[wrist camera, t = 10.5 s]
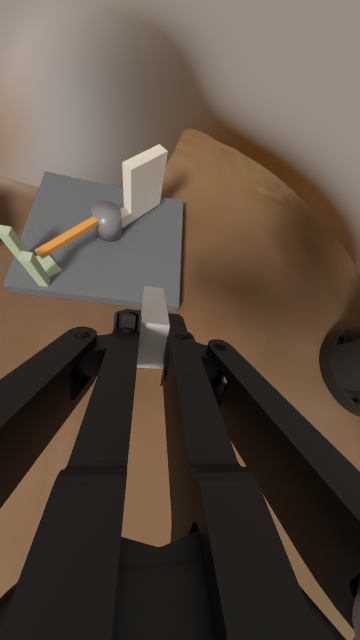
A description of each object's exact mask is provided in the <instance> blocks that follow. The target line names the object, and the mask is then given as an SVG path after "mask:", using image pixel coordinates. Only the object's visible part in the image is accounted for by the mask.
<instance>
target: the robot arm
mask: <svg viewBox="0 0 360 640" xmlns="http://www.w3.org/2000/svg"><path fill="white" fill-rule="evenodd" d="M163 363H164V368H163V374H162V379H161V385H160V386H162V385H163V392H164V407H165V423H166V438H167V453H168V469H169V484H170V500H171V515H172V530H171V543H169V544H167V545H165V546H162V547H155V546H151V545H148V544H144V543H141V542H137V541H134V540H130V539H127V538H123V537H121V532H122V521H123V511H124V500H125V489H126V479H127V463H128V453H129V442H130V432H131V421H132V411H133V401H134V390H135V380H136V369H137V367H142V368H156V369H162V367H163ZM320 367H321V372H322V376H323V379H324V381H325V383H326V385H327V387H328V389H329V391H330V392H331V394H332V395H333V397H334V398H335V399H336V400H337V402H338V403H339V404H340V405H342V406H343V407H344V408H345V409H346V410H348V411H349V412H351V413H353V414H355V415H357V416H359V417H360V328H348V329H344V330H341V331H338V332H335V333H333V334H331V335H330V336H328V337H327V339H326V340H325V341H324V343H323V345H322V348H321V352H320ZM96 376H98V377H97V380H96V382H95V379H96ZM224 377H225V378H226V380H227V384H226V383H225V382H224V381H223V380H224ZM94 382H95V385H94V388H93V391H92V394H91V397H90V400H89V403H88V406H87V409H86V412H85V415H84V418H83V421H82V424H81V427H80V430H79V433H78V436H77V438H76V441H75V444H74V447H73V450H72V453H71V456H70V459H69V462H68V464H67V466H66V468H65V469H63V470H61V471H60V473H59V474H58V476H57V478H56V480H55V483H54V485H53V488H52V490H51V493H50V496H49V498H48V501H47V504H46V507H45V509H44V512H43V515H42V518H41V520H40V523H39V526H38V528H37V531H36V534H35V537H34V539H33V542H32V545H31V548H30V550H29V553H28V556H27V558H26V561H25V564H24V567H23V569H22V572H21V575H20V578H19V580H18V582H17V583H16V584H15V585H14V586H13V587H11V588H10V589H9V590H8V591H7V592H6V593H5V594H4V595H3V596H2V597H1V598H0V640H346V639H345V638H344V637H343V636H342V634H341V633H340V632H339V631H338V630H337V629H336V627H335V626H334V625H333V624H332V623H331V622H330V621H329V619H328V618H327V617H326V616H325V615H324V614H323V612H322V611H321V610H320V609H319V608H318V607H317V605H316V604H315V603H314V602H313V601H312V600H311V599H310V597H309V596H308V595H307V594H306V593H305V592H304V590H303V589H302V588H301V587H300V586H299V584H298V581H297V579H296V576H295V574H294V571H293V569H292V566H291V564H290V561H289V559H288V556H287V554H286V551H285V549H284V546H283V544H282V541H281V539H280V536H279V534H278V531H277V529H276V526H275V524H274V521H273V519H272V516H271V514H270V511H269V509H268V506H267V504H266V501H265V499H264V496H265V498H266V500H267V501H268V503H269V505H270V506H271V508H272V510H273V511H274V513H275V515H276V516H277V518H278V520H279V521H280V523H281V525H282V526H283V528H284V530H285V531H286V533H287V535H288V536H289V538H290V540H291V541H292V543H293V545H294V546H295V548H296V550H297V551H298V553H299V555H300V556H301V558H302V559H303V561H304V562H305V564H306V566H307V567H308V569H309V570H310V572H311V573H312V575H313V576H314V578H315V580H316V581H317V583H318V584H319V585H320V587H321V588H322V589H323V591H324V592H325V594H326V595H327V596H328V598H329V599H330V600H331V602H332V603H333V605H334V606H335V607H336V609H337V610H338V611H339V612H340V614H341V615H342V616H343V617H344V618H345V620H346V621H347V622H348V623H349V625H350V626H351V627H352V628H353V629H354V632H355V635H356V636H355V637H354V638H353V640H360V472H359V471H358V470H357V469H356V468H355V467H354V466H353V465H352V464H351V463H350V462H349V461H348V460H347V459H346V458H345V457H344V456H343V455H342V454H341V453H340V452H339V451H338V450H337V449H336V448H335V447H334V446H333V445H332V444H331V443H330V442H329V441H328V440H327V439H326V438H325V437H324V436H323V435H322V434H321V433H320V432H319V431H318V430H317V429H316V428H315V427H314V426H313V425H312V424H311V423H310V422H309V421H308V420H307V419H305V418H304V417H303V416H302V415H301V414H300V413H299V412H298V411H297V410H296V409H295V408H294V407H293V406H292V405H291V404H290V403H289V402H288V401H287V400H286V399H285V398H284V397H283V396H282V395H281V394H280V393H279V392H278V391H277V390H276V389H275V388H274V387H273V386H272V385H271V384H270V383H269V382H268V381H267V380H266V379H265V378H264V377H263V376H262V375H261V374H260V373H259V372H258V371H257V370H256V369H255V368H254V367H253V366H252V365H251V364H250V363H249V362H248V361H247V360H245V359H244V358H243V357H242V356H241V355H240V354H239V353H238V352H237V351H236V350H235V349H234V348H233V347H232V346H231V345H230V344H229V343H227V342H225V341H223V340H219V339H218V340H216V339H214V340H210V341H209V342H208V346H207V345H203V344H200V343H197V342H195V339H194V337H193V335H192V334H191V333H189V332H187V329H186V326H185V322H184V319H183V318H182V317H181V316H180V315H179V314H170V313H168V312H167V306H166V300H165V294H164V288H157V287H150V286H144V292H143V301H142V310H141V311H140V310H132V309H125V310H123V311H118V312H116V313H115V315H114V329H113V332H112V333H111V334H107V335H99V336H97V332H96V331H95V330H94V329H92V328H89V327H77V328H72V329H70V330H68V331H67V332H66V333H64V334H63V335H61V336H60V337H59V338H57V339H56V340H54V341H53V342H52V343H50V344H49V345H48V346H46V347H45V348H43V349H42V350H41V351H39V352H38V353H37V354H35V355H34V356H32V357H31V358H30V359H28V360H27V361H25V362H24V363H23V364H21V365H20V366H19V367H17V368H16V369H14V370H13V371H12V372H10V373H9V374H8V375H6V376H5V377H3V378H2V379H1V380H0V508H1V507H2V506H3V504H4V503H5V502H6V500H7V499H8V498H9V496H10V495H11V493H12V492H13V491H14V489H15V488H16V487H17V485H18V484H19V483H20V481H21V480H22V479H23V477H24V476H25V475H26V473H27V472H28V471H29V469H30V468H31V467H32V465H33V464H34V462H35V461H36V460H37V458H38V457H39V456H40V454H41V453H42V452H43V450H44V449H45V448H46V446H47V445H48V444H49V442H50V441H51V440H52V438H53V437H54V436H55V434H56V433H57V431H58V430H59V429H60V427H61V426H62V425H63V423H64V422H65V421H66V419H67V418H68V417H69V415H70V414H71V413H72V411H73V410H74V409H75V407H76V406H77V405H78V403H79V402H80V400H81V399H82V398H83V396H84V395H85V394H86V392H87V391H88V390H89V388H90V387H91V386H92V384H93V383H94ZM230 440H231V441H230ZM231 442H232V443H233V445H234V447H235V448H236V450H237V452H238V453H239V455H240V456H241V458H242V460H243V461H244V463H245V465H246V466H247V467H242V466H241V465H240V464H239V463H238V461H237V458H236V455H235V452H234V450H233V447H232V444H231ZM262 493H263V494H262ZM263 495H264V496H263Z"/></svg>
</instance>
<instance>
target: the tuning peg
mask: <svg viewBox="0 0 360 640" xmlns="http://www.w3.org/2000/svg"><path fill="white" fill-rule="evenodd" d="M167 152H168V151H167V150H166V149H165V148H163V147H162V146H161V145H160V144H159V145H157V146H155V147H153V148H151V149H149V150H147V151H145V152H142V153H140V154H138V155H136V156H134V157H132V158H130V159H128V160H126V161H124V162H122V163H123V164H122V165H123V195H124V207H123V208H121V209H120V208H119V206H118V205H116V204H115V203H113V202H111V201H99V202H97V203H95V204H94V205H93V207H92V215H93V216H92V217H91V218H89V219H87V220H85V221H84V222H82V223H80V224H79V225H77V226H75V227H73V228H72V229H70V230H68V231H66V232H65V233H63V234H61V235H60V236H58V237H56V238H54V239H53V240H51V241H49V242H47V243H46V244H44V245H42V246H41V247H39V248H37V249H35V252H36V253H37V254H38V255H39V256H40V257H41V258H42V259H43V258H45V257H47V256H48V255H50V254H52V253H53V252H55V251H57V250H58V249H60V248H62V247H63V246H65V245H67V244H68V243H70V242H71V241H73V240H75V239H76V238H78V237H80V236H81V235H83V234H85V233H86V232H88V231H90V230H91V229H93V228H95V230H96V234H97V236H98V237H99V238H100V239H102V240H104V241H108V242H112V241H116V240H118V239H119V238H120V237H121V235H122V228H123V227H125V226H127V225H128V224H130V223H131V222H133V221H134V220H136V219H137V218H139V217H140V216H142V215H143V214H145V213H147V212H148V211H150V210H151V209H153V208H154V207H156V206H157V205H159V204H160V198H161V192H162V185H163V178H164V172H165V165H166V158H167Z"/></svg>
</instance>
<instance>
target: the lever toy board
mask: <svg viewBox="0 0 360 640" xmlns="http://www.w3.org/2000/svg"><path fill="white" fill-rule="evenodd" d="M99 201H111V202H113V203H115V204H116V205H118V206H119V208H120V209H121V208H123V207H124V195H123V188H120V187H115V186H110V185H106V184H101V183H97V182H92V181H87V180H83V179H78V178H73V177H69V176H64V175H59V174H55V173H50V172H45V173H44V176H43V179H42V181H41V184H40V187H39V189H38V192H37V195H36V198H35V200H34V203H33V206H32V208H31V211H30V214H29V216H28V219H27V222H26V224H25V227H24V230H23V232H22V235H21V238H20V239H19V237H18V236H17V234H16V233H15V231H14V230H13V228H12V227H9V226H3V225H0V238H1V239H2V241H3V242H4V243H5V244H6V246H7V247H8V248H9V249H10V251H11V252H12V253H13V254H14V257H13V259H12V262H11V265H10V267H9V270H8V273H7V275H6V278H5V281H4V284H3V286H4V287H5V288H6V289H7V290H8V291H9V292H11V293H19V294H28V295H36V296H45V297H54V298H62V299H71V300H79V301H88V302H96V303H105V304H114V305H122V306H131V307H139V308H142V301H143V292H144V286H150V287H157V288H164V294H165V300H166V306H167V311H174V312H177V310H178V308H179V295H180V270H181V246H182V221H183V201H180V200H176V199H171V198H166V197H162V196H161V198H160V204H159V205H157V206H156V207H154V208H153V209H151V210H150V211H148V212H147V213H145V214H143V215H142V216H140V217H139V218H137V219H136V220H134V221H133V222H131V223H130V224H128V225H127V226H125V227H123V228H122V235H121V237H120V238H119V239H118V240H116V241H112V242H108V241H104V240H102V239H100V238H99V237H98V236H97V234H96V230H95V228H93V229H91V230H90V231H88V232H86V233H85V234H83V235H81V236H80V237H78V238H76V239H75V240H73V241H71V242H70V243H68V244H67V245H65V246H63V247H62V248H60V249H58V250H57V251H55V252H53V253H52V254H50V255H48V256H47V257H45V258H43V259H42V258H41V257H40V256H39V255H38V254H37V253H36V252H35V249H37V248H39V247H41V246H42V245H44V244H46V243H47V242H49V241H51V240H53V239H54V238H56V237H58V236H60V235H61V234H63V233H65V232H66V231H68V230H70V229H72V228H73V227H75V226H77V225H79V224H80V223H82V222H84V221H85V220H87V219H89V218H91V217H92V216H93V215H92V207H93V205H94V204H95V203H97V202H99Z"/></svg>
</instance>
